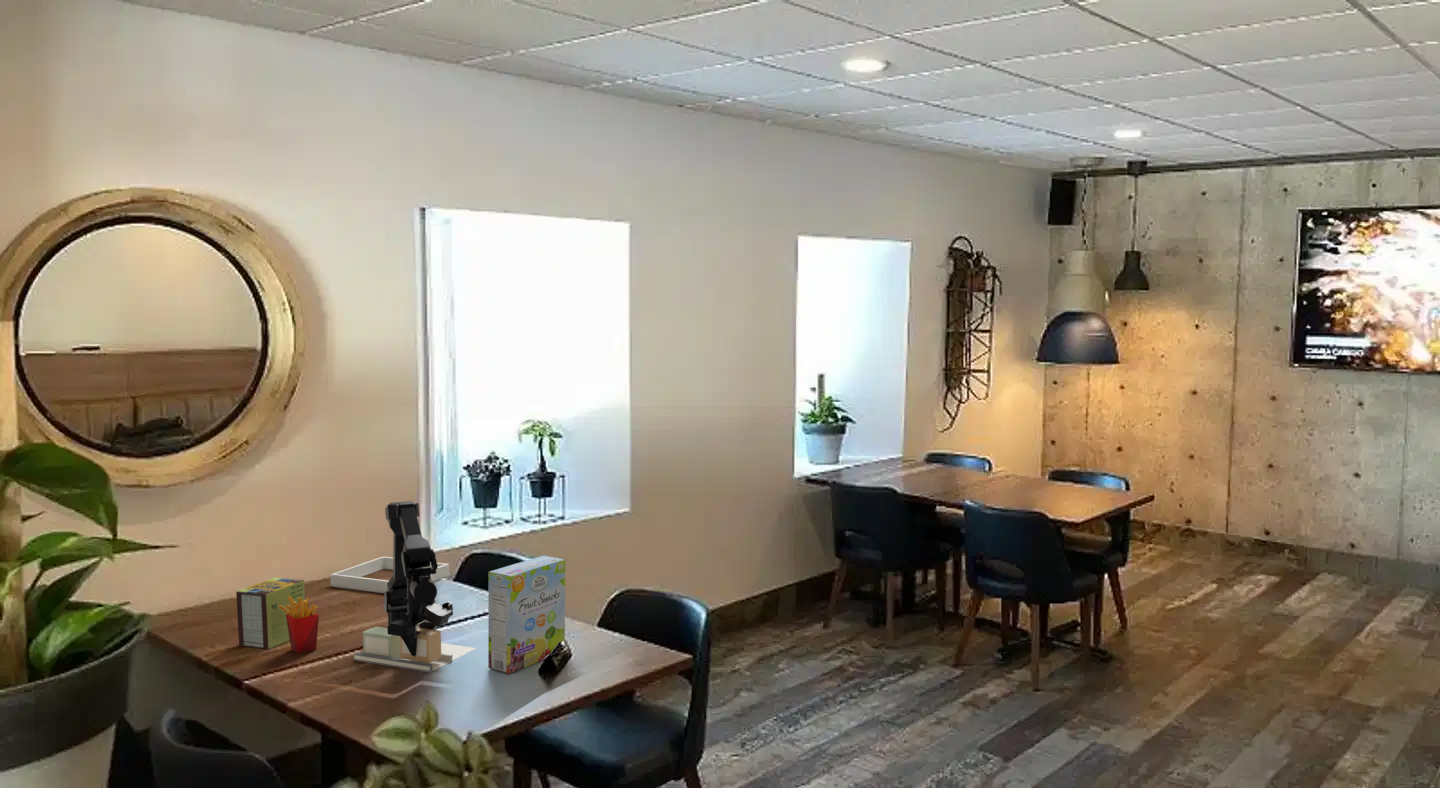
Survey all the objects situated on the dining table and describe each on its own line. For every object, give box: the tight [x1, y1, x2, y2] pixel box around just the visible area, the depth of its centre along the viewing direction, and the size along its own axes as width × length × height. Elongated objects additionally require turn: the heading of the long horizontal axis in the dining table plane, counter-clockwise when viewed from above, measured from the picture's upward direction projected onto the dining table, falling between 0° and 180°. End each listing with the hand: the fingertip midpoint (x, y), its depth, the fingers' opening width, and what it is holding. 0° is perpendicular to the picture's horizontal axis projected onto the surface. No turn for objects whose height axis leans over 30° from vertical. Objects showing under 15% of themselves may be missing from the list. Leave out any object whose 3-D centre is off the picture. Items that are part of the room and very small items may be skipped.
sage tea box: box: [362, 626, 401, 659], centre depth 288 cm, size 9×5×7 cm, turn 67°
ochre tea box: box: [400, 626, 442, 663], centre depth 283 cm, size 9×5×7 cm, turn 67°
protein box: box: [235, 576, 306, 650], centre depth 305 cm, size 10×15×16 cm
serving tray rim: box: [329, 556, 450, 594], centre depth 367 cm, size 28×26×4 cm
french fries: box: [278, 596, 320, 655], centre depth 295 cm, size 9×8×15 cm
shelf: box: [353, 642, 477, 673], centre depth 291 cm, size 24×20×3 cm
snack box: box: [487, 555, 566, 675], centre depth 286 cm, size 22×9×26 cm, turn 148°
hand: (420, 652), depth 283 cm, fingers closed on ochre tea box, 5 cm apart
